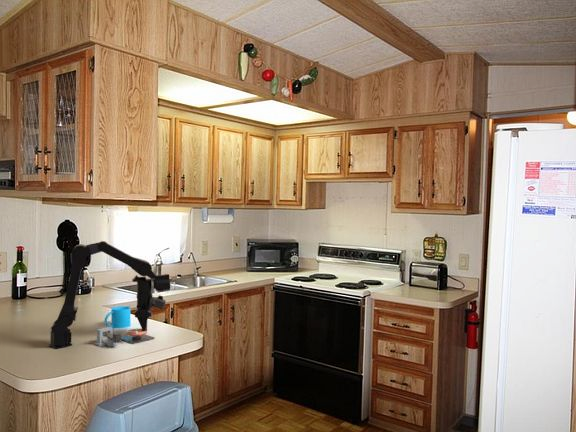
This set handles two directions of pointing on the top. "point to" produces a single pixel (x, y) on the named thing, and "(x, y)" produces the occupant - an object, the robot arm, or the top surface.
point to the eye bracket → (100, 340)
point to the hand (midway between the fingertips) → (144, 329)
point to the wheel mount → (136, 339)
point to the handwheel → (136, 332)
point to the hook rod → (113, 336)
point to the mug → (119, 317)
